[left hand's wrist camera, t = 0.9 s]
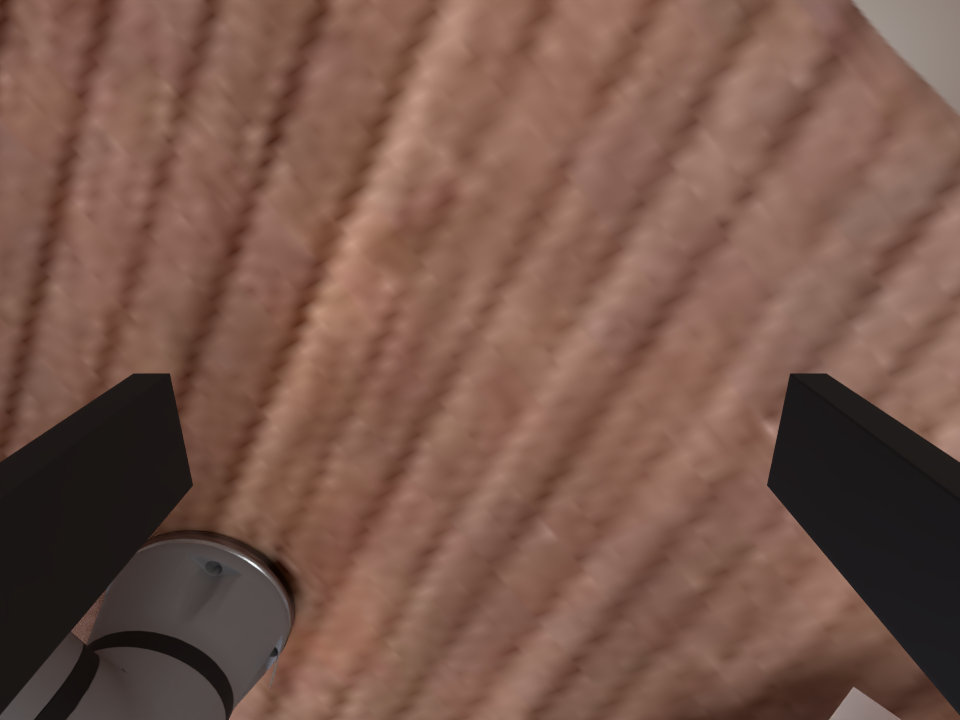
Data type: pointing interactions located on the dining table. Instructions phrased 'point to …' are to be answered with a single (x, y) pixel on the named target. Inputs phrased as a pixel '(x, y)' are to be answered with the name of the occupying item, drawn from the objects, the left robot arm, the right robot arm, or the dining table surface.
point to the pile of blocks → (861, 708)
